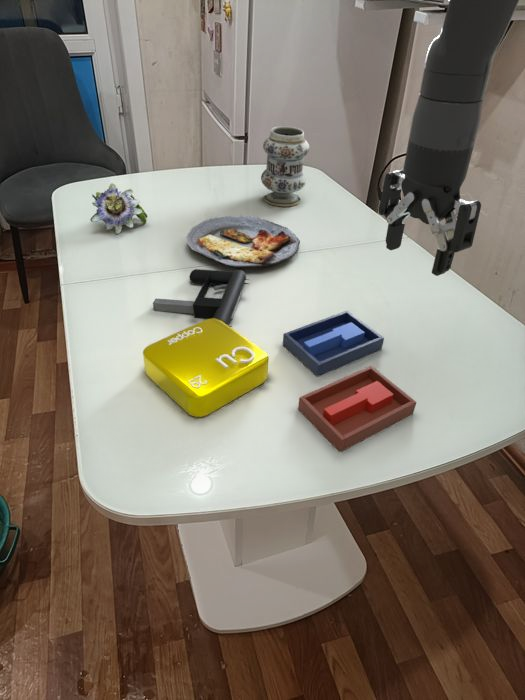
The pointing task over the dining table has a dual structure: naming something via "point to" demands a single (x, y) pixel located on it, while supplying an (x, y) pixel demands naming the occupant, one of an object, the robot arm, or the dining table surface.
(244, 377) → the element tile
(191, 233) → the food plate
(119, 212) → the passion flower
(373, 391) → the red stepped block
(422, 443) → the dining table surface
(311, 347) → the blue stepped block
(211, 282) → the door handle
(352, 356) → the navy tray
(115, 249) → the dining table surface
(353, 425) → the rust tray
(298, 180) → the apothecary jar
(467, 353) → the dining table surface
